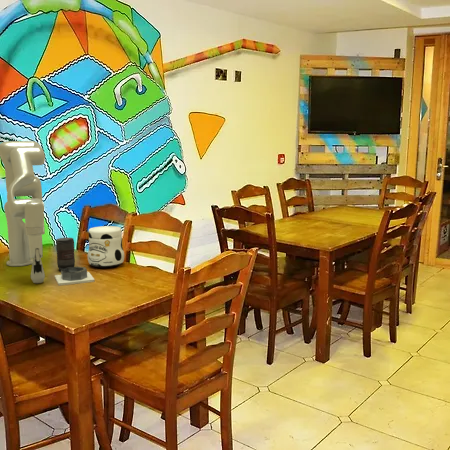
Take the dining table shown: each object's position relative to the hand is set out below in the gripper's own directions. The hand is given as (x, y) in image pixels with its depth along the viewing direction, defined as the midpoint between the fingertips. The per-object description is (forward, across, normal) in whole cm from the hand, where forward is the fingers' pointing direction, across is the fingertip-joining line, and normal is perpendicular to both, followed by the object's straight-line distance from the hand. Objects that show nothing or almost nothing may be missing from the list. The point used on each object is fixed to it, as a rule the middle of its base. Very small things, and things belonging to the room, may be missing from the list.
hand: (37, 272), depth 235 cm
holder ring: (+5, +1, +15) cm, 16 cm away
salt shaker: (+4, 0, 0) cm, 4 cm away
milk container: (+5, -19, +33) cm, 39 cm away
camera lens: (+5, -17, +14) cm, 23 cm away
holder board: (+5, +1, +15) cm, 16 cm away
